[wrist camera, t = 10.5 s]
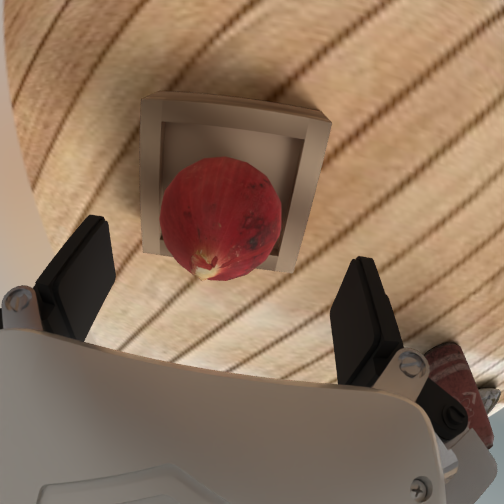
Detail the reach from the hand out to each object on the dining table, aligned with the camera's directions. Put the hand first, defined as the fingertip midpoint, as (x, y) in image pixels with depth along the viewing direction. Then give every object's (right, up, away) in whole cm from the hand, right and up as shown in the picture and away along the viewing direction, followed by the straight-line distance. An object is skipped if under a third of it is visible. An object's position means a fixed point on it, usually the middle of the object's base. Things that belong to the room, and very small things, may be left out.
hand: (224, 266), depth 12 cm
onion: (0, +4, +7) cm, 8 cm away
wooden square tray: (0, +6, +9) cm, 10 cm away
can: (+24, -12, +21) cm, 34 cm away
